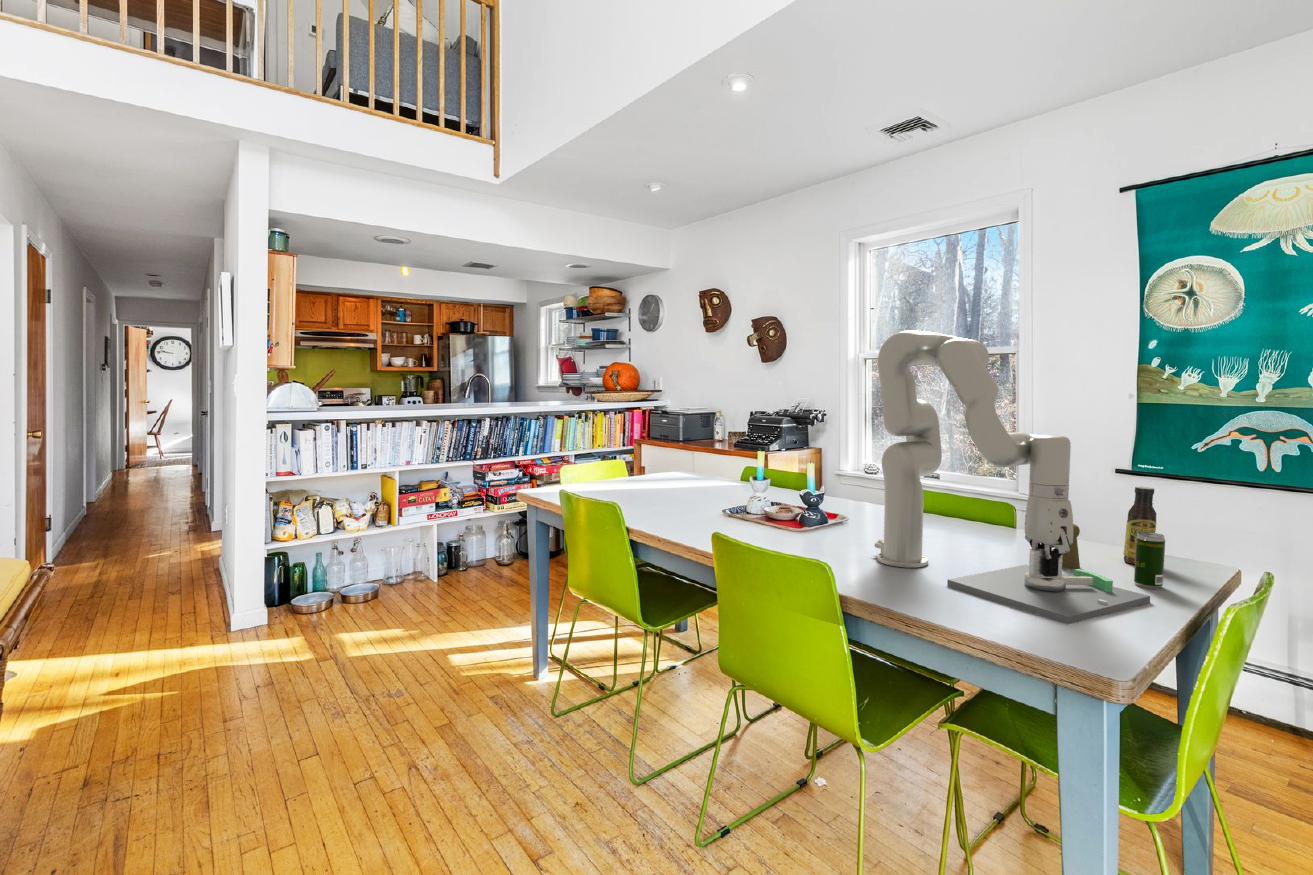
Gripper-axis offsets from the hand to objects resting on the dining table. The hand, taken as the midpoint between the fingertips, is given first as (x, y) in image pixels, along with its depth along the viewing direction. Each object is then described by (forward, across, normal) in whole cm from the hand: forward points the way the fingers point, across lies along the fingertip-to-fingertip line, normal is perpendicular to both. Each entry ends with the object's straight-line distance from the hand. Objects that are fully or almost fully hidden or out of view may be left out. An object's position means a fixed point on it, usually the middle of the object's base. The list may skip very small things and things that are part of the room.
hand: (1045, 573), depth 147 cm
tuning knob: (+3, 0, -3) cm, 4 cm away
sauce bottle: (+5, +20, -42) cm, 47 cm away
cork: (+5, +21, -21) cm, 30 cm away
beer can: (+5, +3, -28) cm, 28 cm away
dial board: (+5, 0, 0) cm, 5 cm away
